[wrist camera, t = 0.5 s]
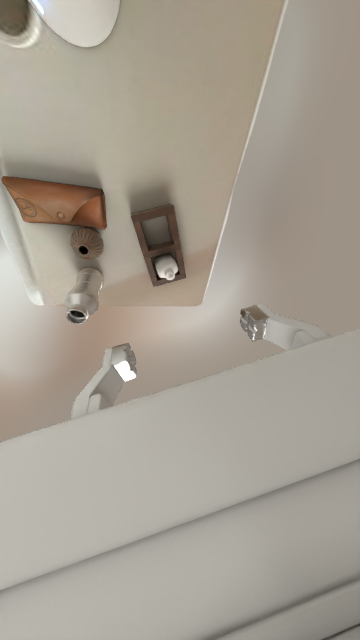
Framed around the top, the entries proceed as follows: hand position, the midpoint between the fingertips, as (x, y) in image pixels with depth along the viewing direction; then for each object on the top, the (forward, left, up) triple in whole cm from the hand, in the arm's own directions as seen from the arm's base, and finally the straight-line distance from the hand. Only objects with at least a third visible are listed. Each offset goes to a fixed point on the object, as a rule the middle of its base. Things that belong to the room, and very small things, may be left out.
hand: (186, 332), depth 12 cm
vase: (0, -15, -43) cm, 46 cm away
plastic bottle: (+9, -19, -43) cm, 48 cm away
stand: (+6, +2, -43) cm, 44 cm away
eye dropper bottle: (+11, +2, -43) cm, 45 cm away
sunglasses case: (-8, -17, -43) cm, 47 cm away
